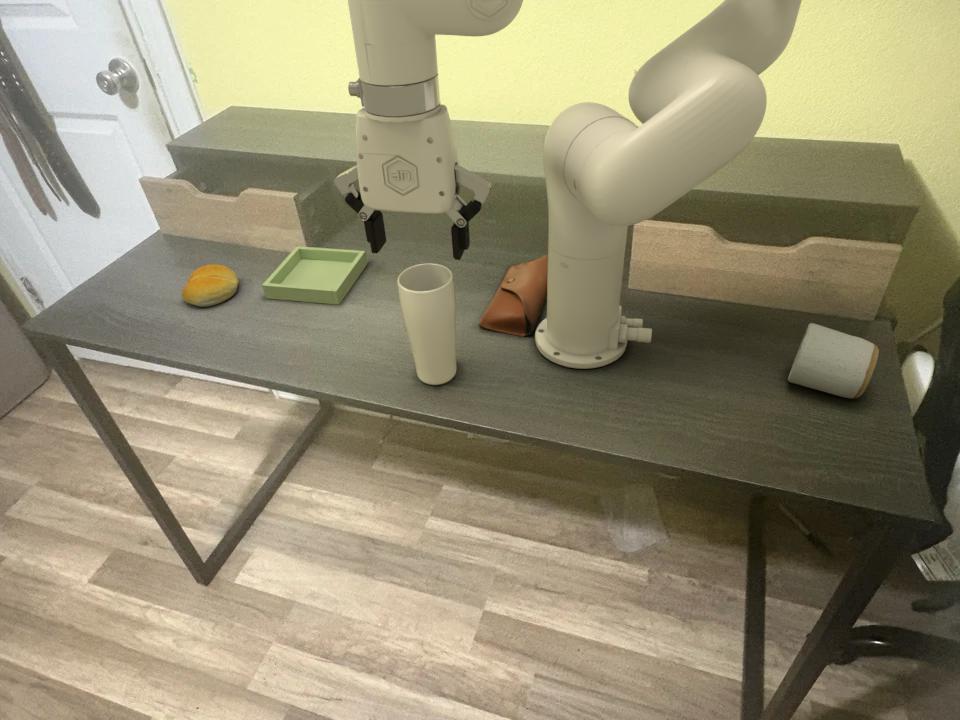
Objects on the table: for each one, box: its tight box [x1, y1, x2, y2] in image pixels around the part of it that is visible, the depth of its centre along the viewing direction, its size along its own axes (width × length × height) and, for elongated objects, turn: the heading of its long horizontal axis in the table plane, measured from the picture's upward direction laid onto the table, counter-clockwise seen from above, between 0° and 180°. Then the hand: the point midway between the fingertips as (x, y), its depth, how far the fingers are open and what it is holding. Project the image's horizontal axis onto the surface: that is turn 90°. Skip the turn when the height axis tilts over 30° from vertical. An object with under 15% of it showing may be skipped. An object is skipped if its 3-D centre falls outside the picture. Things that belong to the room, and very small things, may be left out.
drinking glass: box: [396, 262, 457, 386], centre depth 79 cm, size 7×7×15 cm
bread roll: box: [181, 263, 240, 307], centre depth 102 cm, size 8×9×4 cm
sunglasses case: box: [478, 253, 548, 338], centre depth 96 cm, size 18×7×7 cm, turn 163°
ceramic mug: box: [787, 322, 880, 399], centre depth 77 cm, size 11×8×8 cm
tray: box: [261, 245, 369, 306], centre depth 104 cm, size 13×13×2 cm
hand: (419, 250), depth 72 cm, fingers open, 9 cm apart
